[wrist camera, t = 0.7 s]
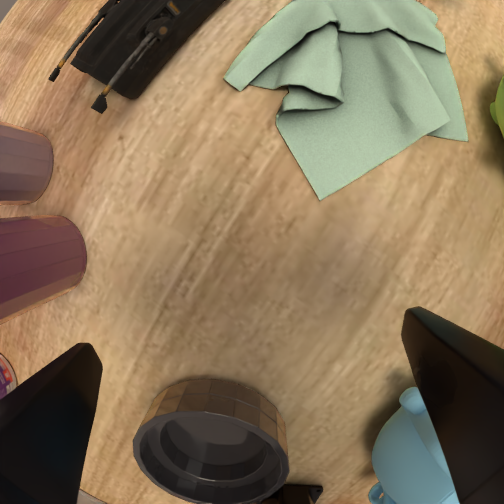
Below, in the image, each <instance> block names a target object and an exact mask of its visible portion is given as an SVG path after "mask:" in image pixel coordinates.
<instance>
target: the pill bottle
mask: <svg viewBox="0 0 504 504" xmlns="http://www.w3.org/2000/svg"><path fill="white" fill-rule="evenodd" d="M15 388H16V378H15V374H14V372H13V369H12V367H11V366H10V364H9V363H8V361H7V360H6V359H5V358H4V357H3V356H2V355H1V354H0V399H1V398H3V397H4V396H5V395H7V394H8V393H10V392H11V391H12V390H14V389H15Z"/></svg>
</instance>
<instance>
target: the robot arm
mask: <svg viewBox="0 0 504 504" xmlns="http://www.w3.org/2000/svg"><path fill="white" fill-rule="evenodd" d="M401 337H402V341H403V344H404V347H405V350H406V354H407V357H408V360H409V363H410V366H411V369H412V373H413V376H414V379H415V382H416V385H417V387H418V390H419V392H420V395H421V397H422V400H423V402H424V404H425V407H426V409H427V412H428V414H429V417H430V419H431V422H432V424H433V427H434V430H435V432H436V435H437V438H438V440H439V443H440V446H441V449H442V451H443V454H444V457H445V460H446V463H447V466H448V469H449V472H450V475H451V478H452V481H453V484H454V488H455V491H456V494H457V498H458V501H459V504H504V349H502V348H500V347H498V346H496V345H494V344H492V343H490V342H489V341H487V340H485V339H483V338H481V337H479V336H477V335H475V334H473V333H471V332H469V331H467V330H465V329H464V328H462V327H460V326H458V325H456V324H454V323H452V322H450V321H448V320H446V319H444V318H442V317H440V316H438V315H436V314H434V313H432V312H430V311H428V310H426V309H424V308H422V307H419V306H418V307H413V308H409V309H407V310H406V311H405V315H404V320H403V326H402V331H401ZM102 371H103V366H102V362H101V361H100V359H99V357H98V355H97V353H96V351H95V350H94V348H93V346H92V345H91V344H90V343H78V344H76V345H75V346H73V347H72V348H70V349H69V350H68V351H66V352H65V353H63V354H62V355H60V356H59V357H58V358H56V359H55V360H53V361H52V362H51V363H49V364H48V365H47V366H45V367H44V368H42V369H41V370H40V371H38V372H37V373H35V374H34V375H33V376H31V377H30V378H29V379H27V380H26V381H24V382H23V383H22V384H20V385H19V386H18V387H16V388H15V389H14V390H12V391H11V392H10V393H8V394H7V395H5V396H4V397H3V398H1V399H0V504H77V501H78V494H79V488H80V482H81V477H82V471H83V466H84V461H85V456H86V451H87V447H88V442H89V438H90V433H91V429H92V425H93V421H94V417H95V412H96V407H97V400H98V394H99V388H100V382H101V377H102ZM322 492H323V487H322V486H308V485H286V484H284V485H283V486H282V487H281V488H279V489H278V490H277V491H276V492H275V493H274V494H273V495H271V496H270V497H268V498H265V499H263V500H261V501H258V502H256V504H315V503H316V501H317V500H318V498H319V496H320V495H321V493H322Z"/></svg>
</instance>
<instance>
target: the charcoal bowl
mask: <svg viewBox="0 0 504 504" xmlns="http://www.w3.org/2000/svg"><path fill="white" fill-rule="evenodd" d="M133 453H134V457H135V459H136V461H137V463H138V465H139V467H140V469H141V470H142V472H143V473H144V474H145V475H146V476H147V477H148V478H149V479H150V480H151V481H152V482H153V483H154V484H155V485H157V486H158V487H160V488H161V489H163V490H165V491H166V492H168V493H169V494H171V495H173V496H175V497H178V498H180V499H183V500H186V501H188V502H192V503H196V504H253V503H256V502H258V501H261V500H263V499H265V498H268V497H270V496H271V495H273V494H274V493H275V492H276V491H277V490H278V489H279V488H281V487H282V486H283V485H284V483H285V480H286V478H287V476H288V474H289V460H288V449H287V439H286V429H285V422H284V420H283V419H282V417H281V415H280V414H279V412H278V410H277V408H276V407H275V406H274V405H272V404H271V403H270V402H269V401H268V400H266V399H265V398H264V397H263V396H262V395H260V394H259V393H257V392H255V391H253V390H250V389H248V388H246V387H244V386H242V385H239V384H236V383H231V382H226V381H221V380H216V379H201V380H187V381H184V382H181V383H178V384H175V385H172V386H170V387H168V388H167V389H166V390H164V391H163V392H162V393H161V394H159V395H158V396H157V397H156V398H155V400H154V401H153V403H152V405H151V407H150V409H149V410H148V412H147V414H146V416H145V418H144V420H143V421H142V423H141V425H140V427H139V429H138V431H137V433H136V435H135V437H134V439H133Z"/></svg>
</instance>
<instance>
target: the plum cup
mask: <svg viewBox="0 0 504 504" xmlns="http://www.w3.org/2000/svg"><path fill="white" fill-rule="evenodd" d="M86 260H87V256H86V248H85V244H84V240H83V238H82V235H81V233H80V231H79V230H78V228H77V227H76V226H75V225H74V223H72V222H71V221H70V220H69V219H67V218H65V217H63V216H59V215H41V216H26V217H12V218H0V325H1V324H3V323H5V322H7V321H9V320H11V319H13V318H15V317H17V316H19V315H22V314H24V313H26V312H28V311H30V310H32V309H34V308H36V307H38V306H40V305H42V304H45V303H47V302H49V301H51V300H53V299H55V298H57V297H59V296H62V295H64V294H66V293H68V292H69V291H71V290H73V289H74V288H75V287H76V286H77V285H78V284H79V283H80V281H81V280H82V278H83V275H84V273H85V269H86Z"/></svg>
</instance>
